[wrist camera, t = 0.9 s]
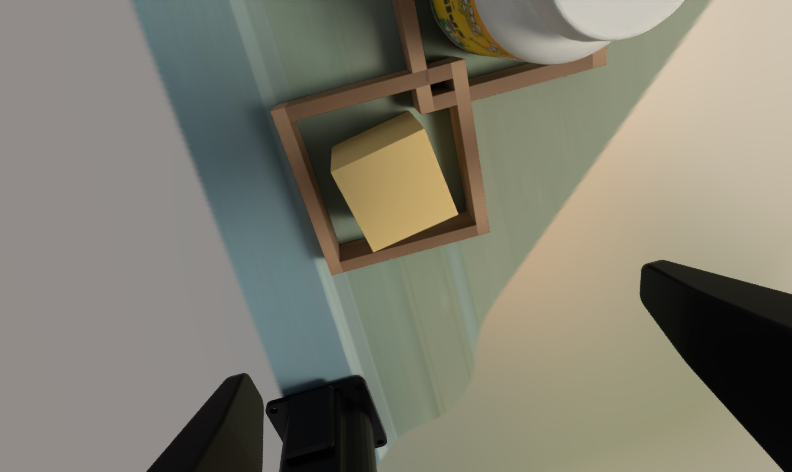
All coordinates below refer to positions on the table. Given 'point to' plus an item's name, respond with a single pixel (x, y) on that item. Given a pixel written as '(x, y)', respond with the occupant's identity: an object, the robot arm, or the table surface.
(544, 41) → the supplement bottle
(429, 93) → the frame
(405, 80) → the frame
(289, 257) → the table surface
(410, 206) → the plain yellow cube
